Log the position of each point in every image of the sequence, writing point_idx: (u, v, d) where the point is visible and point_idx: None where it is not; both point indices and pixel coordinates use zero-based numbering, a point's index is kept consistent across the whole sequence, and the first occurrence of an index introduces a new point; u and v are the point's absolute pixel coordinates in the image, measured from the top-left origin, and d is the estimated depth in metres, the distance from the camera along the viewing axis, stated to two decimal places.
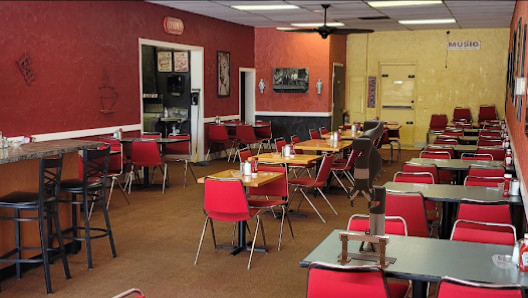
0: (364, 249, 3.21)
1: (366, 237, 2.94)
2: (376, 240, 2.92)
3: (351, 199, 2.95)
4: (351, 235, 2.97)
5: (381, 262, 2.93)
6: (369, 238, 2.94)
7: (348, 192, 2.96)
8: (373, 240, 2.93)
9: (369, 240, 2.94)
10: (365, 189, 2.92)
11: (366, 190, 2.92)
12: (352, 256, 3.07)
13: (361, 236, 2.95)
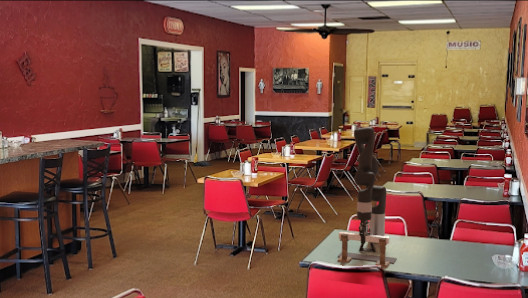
0: (364, 249, 3.21)
1: (366, 237, 2.94)
2: (376, 240, 2.92)
3: (365, 235, 2.94)
4: (351, 235, 2.97)
5: (381, 262, 2.93)
6: (369, 238, 2.94)
7: (364, 231, 2.91)
8: (373, 240, 2.93)
9: (369, 240, 2.94)
10: (367, 220, 2.98)
11: (367, 221, 2.98)
12: (352, 256, 3.07)
13: None
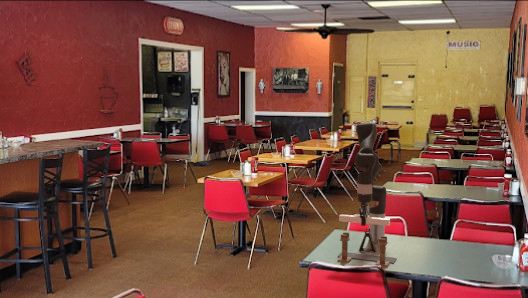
0: (364, 249, 3.21)
1: (366, 219, 2.93)
2: (377, 222, 2.91)
3: None
4: (351, 217, 2.96)
5: (381, 262, 2.93)
6: (370, 220, 2.93)
7: (364, 213, 2.90)
8: (374, 222, 2.92)
9: (370, 222, 2.93)
10: (367, 202, 2.96)
11: (367, 203, 2.97)
12: (352, 256, 3.07)
13: None
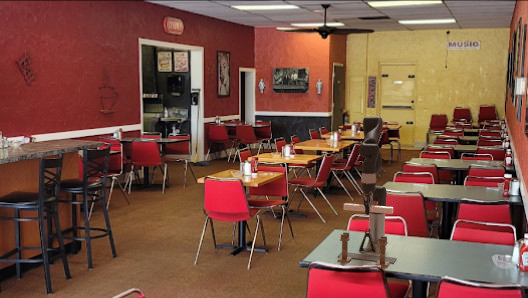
0: (364, 249, 3.21)
1: (370, 208, 3.01)
2: (381, 211, 2.99)
3: (369, 206, 3.01)
4: (356, 206, 3.04)
5: (381, 262, 2.93)
6: (373, 208, 3.01)
7: (368, 201, 2.98)
8: (377, 210, 3.00)
9: (373, 210, 3.01)
10: (371, 191, 3.04)
11: (371, 193, 3.05)
12: (352, 256, 3.07)
13: None
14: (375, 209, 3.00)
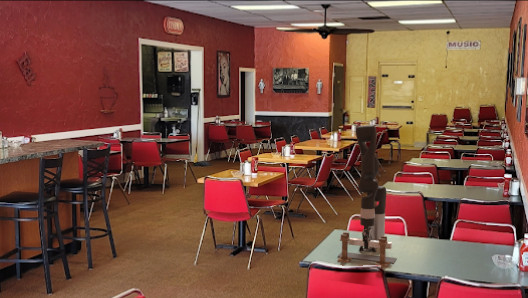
0: (364, 249, 3.21)
1: (369, 242, 3.03)
2: (379, 246, 3.01)
3: (368, 241, 3.03)
4: (354, 240, 3.06)
5: (381, 262, 2.93)
6: (372, 243, 3.03)
7: (367, 236, 3.00)
8: (376, 245, 3.02)
9: (372, 245, 3.03)
10: (370, 226, 3.06)
11: (370, 227, 3.07)
12: (352, 256, 3.07)
13: None
14: (374, 244, 3.02)
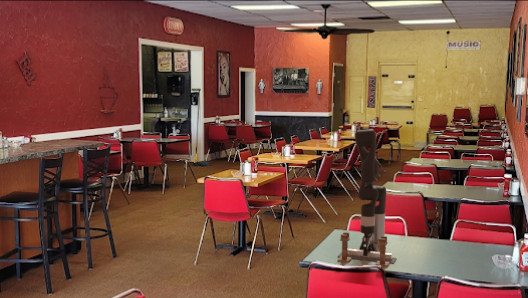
0: None
1: (369, 254, 3.04)
2: (379, 257, 3.02)
3: (367, 248, 3.01)
4: (355, 252, 3.07)
5: (381, 262, 2.93)
6: (372, 254, 3.04)
7: (367, 242, 2.99)
8: (376, 257, 3.03)
9: (372, 257, 3.04)
10: (370, 234, 3.07)
11: (370, 235, 3.07)
12: (352, 256, 3.07)
13: None
14: (374, 255, 3.03)
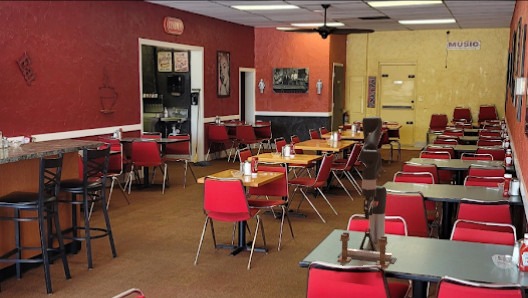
0: (364, 249, 3.21)
1: (369, 254, 3.04)
2: (379, 257, 3.02)
3: (369, 211, 3.00)
4: (355, 252, 3.07)
5: (381, 262, 2.93)
6: (372, 254, 3.04)
7: (368, 205, 2.98)
8: (376, 257, 3.03)
9: (372, 257, 3.04)
10: (371, 198, 3.05)
11: (371, 198, 3.06)
12: (352, 256, 3.07)
13: (364, 253, 3.05)
14: (374, 255, 3.03)
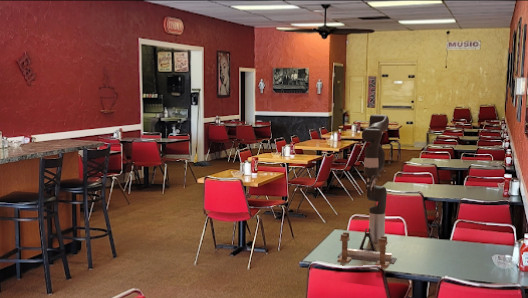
0: (364, 249, 3.21)
1: (369, 254, 3.04)
2: (379, 257, 3.02)
3: (371, 189, 3.03)
4: (355, 252, 3.07)
5: (381, 262, 2.93)
6: (372, 254, 3.04)
7: (370, 183, 3.01)
8: (376, 257, 3.03)
9: (372, 257, 3.04)
10: (373, 176, 3.09)
11: (374, 177, 3.09)
12: (352, 256, 3.07)
13: (364, 253, 3.05)
14: (374, 255, 3.03)
